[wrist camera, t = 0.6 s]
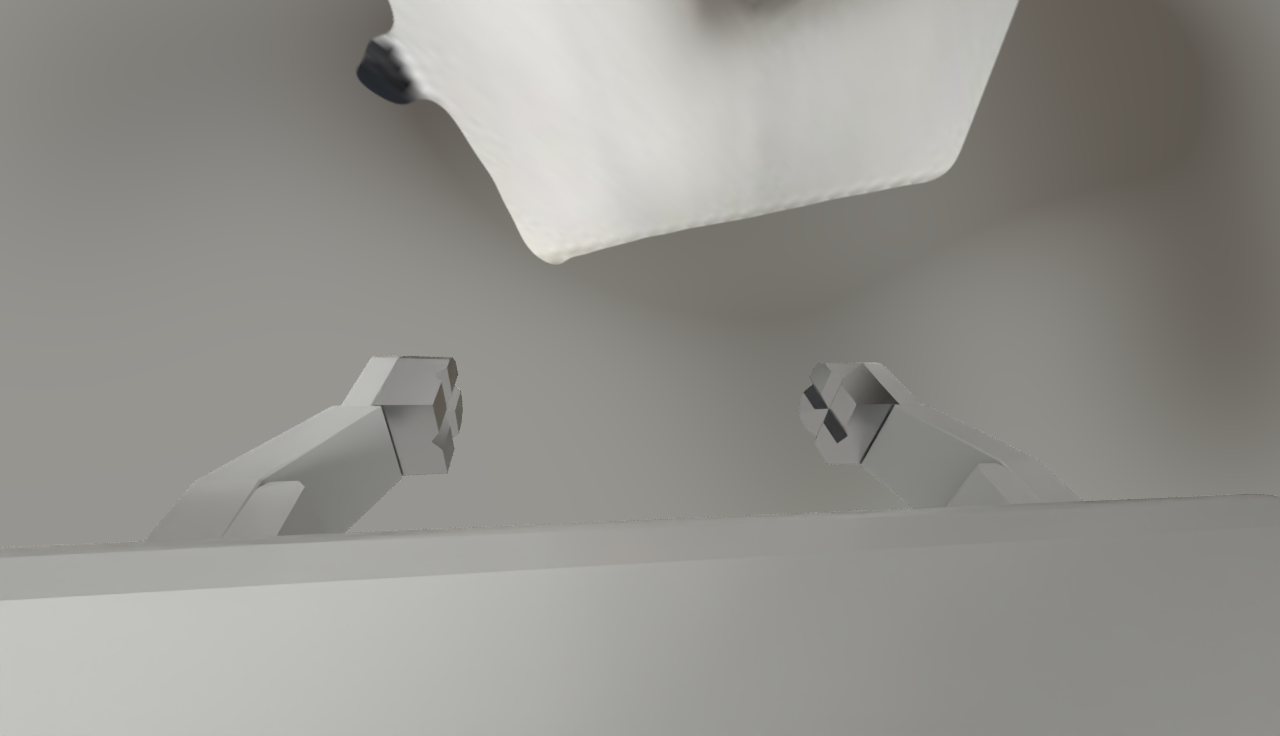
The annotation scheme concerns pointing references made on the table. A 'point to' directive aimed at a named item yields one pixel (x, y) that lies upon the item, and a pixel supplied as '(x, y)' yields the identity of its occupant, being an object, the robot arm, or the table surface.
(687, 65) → the table surface
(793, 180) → the table surface
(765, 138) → the table surface
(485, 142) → the table surface
